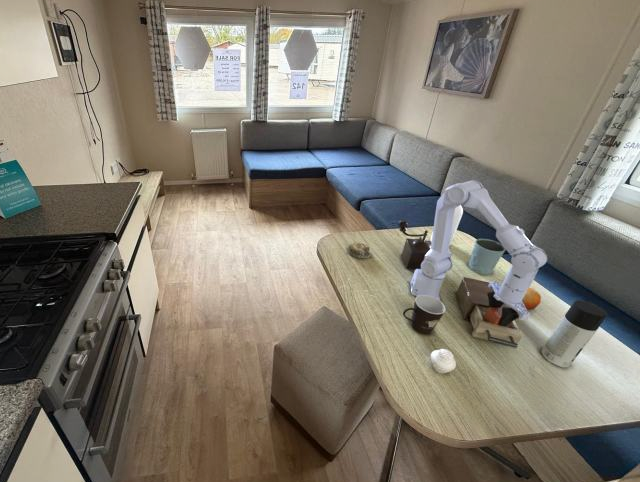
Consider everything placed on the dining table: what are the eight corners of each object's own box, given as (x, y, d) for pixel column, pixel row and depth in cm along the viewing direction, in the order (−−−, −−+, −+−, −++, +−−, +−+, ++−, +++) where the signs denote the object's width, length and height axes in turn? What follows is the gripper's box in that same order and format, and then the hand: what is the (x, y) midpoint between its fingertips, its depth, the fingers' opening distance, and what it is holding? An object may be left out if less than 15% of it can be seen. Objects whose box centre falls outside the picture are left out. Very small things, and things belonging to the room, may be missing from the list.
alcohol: (449, 240, 151) (471, 183, 137) (451, 249, 144) (474, 189, 130) (429, 236, 154) (448, 180, 140) (430, 245, 147) (450, 186, 133)
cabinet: (507, 330, 101) (517, 312, 97) (464, 319, 105) (472, 302, 101) (495, 301, 113) (503, 285, 109) (456, 292, 117) (463, 276, 113)
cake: (344, 255, 138) (345, 244, 136) (352, 246, 146) (353, 235, 143) (366, 261, 133) (368, 250, 131) (373, 251, 140) (375, 241, 138)
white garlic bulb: (455, 380, 84) (464, 363, 81) (431, 376, 85) (439, 359, 82) (446, 360, 90) (454, 344, 86) (424, 357, 91) (431, 340, 87)
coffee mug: (433, 321, 103) (442, 298, 99) (437, 340, 96) (448, 317, 91) (396, 312, 107) (403, 290, 102) (398, 330, 99) (406, 307, 95)
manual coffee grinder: (424, 257, 137) (436, 222, 129) (432, 272, 128) (446, 235, 119) (388, 253, 140) (397, 218, 131) (393, 267, 130) (403, 230, 122)
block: (492, 327, 95) (498, 317, 93) (483, 317, 99) (489, 307, 97) (507, 328, 95) (513, 317, 93) (497, 317, 99) (503, 307, 97)
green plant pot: (498, 270, 130) (509, 246, 124) (487, 279, 125) (499, 254, 119) (472, 259, 137) (482, 236, 132) (461, 266, 132) (471, 242, 126)
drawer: (520, 358, 90) (529, 344, 87) (476, 346, 94) (483, 332, 91) (502, 317, 105) (509, 304, 102) (464, 308, 108) (470, 295, 105)
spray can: (572, 372, 88) (612, 320, 78) (542, 361, 91) (577, 310, 81) (566, 355, 93) (604, 305, 83) (538, 345, 96) (571, 296, 86)
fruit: (548, 312, 107) (544, 295, 104) (521, 317, 110) (517, 301, 107) (535, 297, 114) (530, 280, 111) (510, 302, 117) (505, 286, 114)
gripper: (485, 269, 96) (470, 302, 103) (519, 302, 84) (499, 337, 90) (508, 270, 96) (491, 303, 103) (545, 303, 83) (523, 338, 90)
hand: (496, 319), depth 96 cm, fingers closed on block, 4 cm apart
